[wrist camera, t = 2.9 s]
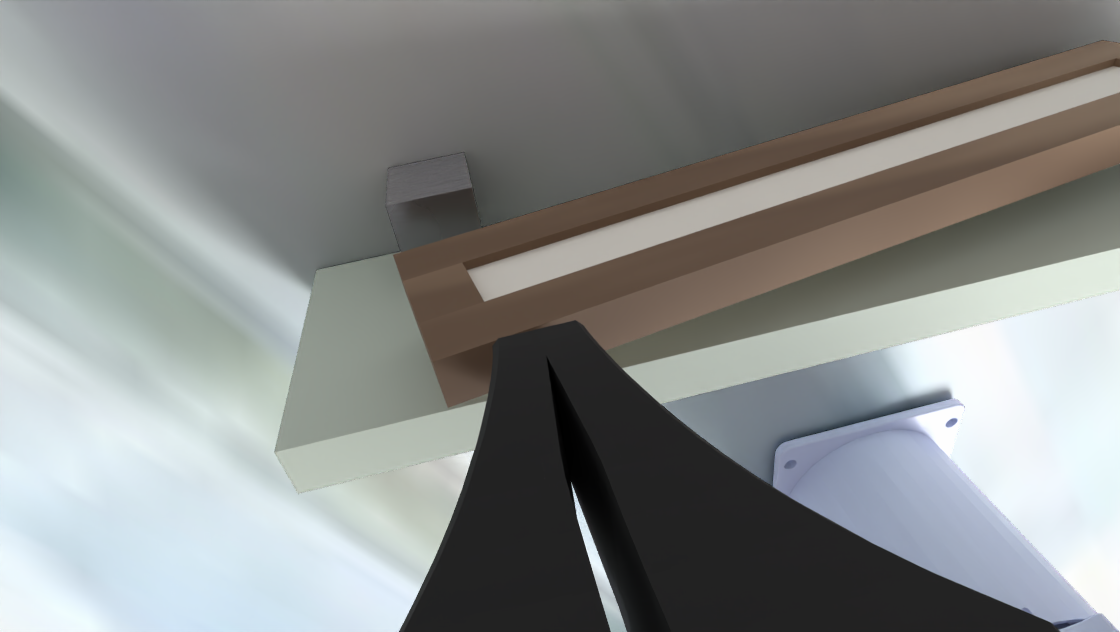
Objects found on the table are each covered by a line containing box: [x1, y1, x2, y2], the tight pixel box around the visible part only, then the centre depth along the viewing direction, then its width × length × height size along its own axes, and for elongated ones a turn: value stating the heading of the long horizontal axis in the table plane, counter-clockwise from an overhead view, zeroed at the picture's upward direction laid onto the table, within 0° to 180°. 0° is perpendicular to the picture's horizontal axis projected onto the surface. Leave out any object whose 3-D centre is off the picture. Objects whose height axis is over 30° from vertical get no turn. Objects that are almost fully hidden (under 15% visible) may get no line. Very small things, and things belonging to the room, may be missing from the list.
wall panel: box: [274, 152, 1120, 494], centre depth 16 cm, size 4×26×7 cm, turn 98°
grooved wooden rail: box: [393, 40, 1120, 408], centre depth 14 cm, size 1×20×4 cm, turn 98°
